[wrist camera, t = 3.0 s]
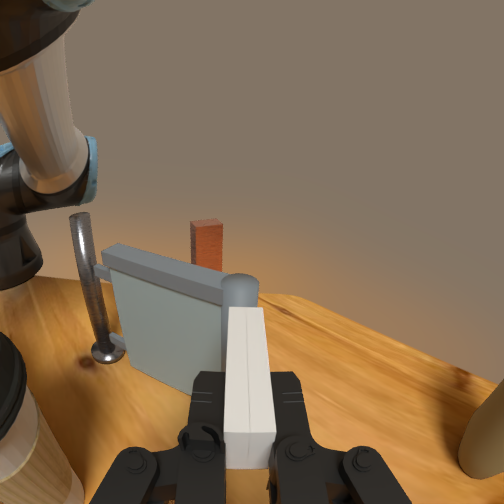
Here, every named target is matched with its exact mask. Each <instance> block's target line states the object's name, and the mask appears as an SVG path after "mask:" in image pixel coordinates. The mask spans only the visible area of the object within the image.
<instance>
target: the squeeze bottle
mask: <svg viewBox="0 0 504 504" xmlns="http://www.w3.org/2000/svg"><path fill="white" fill-rule="evenodd" d="M458 459H459V464H460V466H461V467H462V469H463V471H464V472H465V473H466V474H468V475H469V476H470V477H472V478H475V479H485V478H489V477H492V476H494V475H497V474H500V473H502V472H504V379H503V381H502V382H501V383H500V384H499V385H498V387H497V388H496V389H495V390H494V391H493V392H492V394H491V395H490V396H489V397H488V398H487V399H486V400H485V401H484V402H483V404H482V405H481V406H480V407H479V408H478V409H477V410H476V411H475V412H474V414H473V415H472V417H471V419H470V421H469V422H468V425H467V428H466V430H465V433H464V435H463V438H462V440H461V443H460V445H459V450H458Z"/></svg>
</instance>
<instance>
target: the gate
mask: <svg viewBox="0 0 504 504" xmlns="http://www.w3.org/2000/svg"><path fill="white" fill-rule="evenodd" d="M101 254H102V260H103V265H105V266H108V267H110V268H108V267H105V266H103V265H100V264H96V265H95V266H94V272H95V276H97V277H99V278H101V279H104V280H106V281H109V282H111V283H112V285H113V290H114V296H115V301H116V306H117V310H118V315H119V320H120V324H121V328H122V333H123V337H124V338H123V337H121V336H119V335H117V334H116V333H114V332H112V333H111V334H109V337H110V341H111V342H112V343H113V344H115V345H117V346H119V347H121V348H123V349H124V350H126V351H127V353H128V356H129V360H130V364H131V366H132V367H134V368H136V369H138V370H140V371H141V372H143V373H145V374H147V375H149V376H151V377H153V378H155V379H157V380H159V381H161V382H163V383H165V384H167V385H169V386H171V387H173V388H175V389H177V390H180V391H182V392H184V393H186V394H188V395H190V396H191V395H192V389H193V382H194V379H195V378H196V376H197V375H198V374H199V372H200V371H214V372H226V360H227V339H228V319H229V307H257V303H258V291H259V281H258V280H257V279H256V278H255V277H253V276H251V275H247V274H239V273H238V274H227V273H223V272H220V271H216V270H212V269H208V268H205V267H201V266H197V265H194V264H190V263H186V262H183V261H179V260H176V259H172V258H168V257H165V256H161V255H158V254H154V253H151V252H147V251H143V250H140V249H137V248H133V247H130V246H126V245H122V244H119V243H117V244H115V245H113V246H111V247H109V248H107V249H105V250H103V251H101Z"/></svg>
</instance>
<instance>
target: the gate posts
mask: <svg viewBox="0 0 504 504" xmlns="http://www.w3.org/2000/svg"><path fill="white" fill-rule="evenodd" d="M69 220H70V227H71V233H72V239H73V246H74V250H75V256H76V262H77V267H78V272H79V277H80V281H81V286H82V290H83V294H84V298H85V302H86V306H87V310H88V314H89V317H90V321H91V325H92V328H93V331H94V335H95V338H96V342H95V343H94V344H93V346H92V348H91V353H92V356H93V358H94V359H95V360H96V361H97V362H99V363H101V364H112V363H115V362H117V361H119V360H120V359H121V358H122V357H123V356H124V353H125V350H124V349H123V348H121V347H119V346H117V345H115V344H113V343H112V342H111V341H110V337H109V334H111V333H112V332H111V328H110V324H109V320H108V316H107V312H106V307H105V303H104V298H103V293H102V289H101V284H100V279H99V277H97V276H95V272H94V266H95V265H96V264H97V262H96V256H95V250H94V243H93V236H92V229H91V221H90V213H88V212H80V213H76V214H73V215H71V216H70V217H69ZM190 227H191V228H190V232H191V264H194V265H197V266H201V267H205V268H208V269H212V270H216V271H220V272H222V240H223V224H222V223H221V222H220V221H218V220H217V219H207V220H198V221H191V222H190Z"/></svg>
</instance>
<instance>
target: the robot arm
mask: <svg viewBox="0 0 504 504" xmlns="http://www.w3.org/2000/svg"><path fill="white" fill-rule="evenodd" d="M94 1H95V0H0V124H1V126H2V128H3V130H4V131H5V133H6V135H7V137H8V138H9V140H10V141H11V142H10V143H6V144H3V145H1V146H0V290H2V289H7V288H10V287H13V286H16V285H18V284H21V283H23V282H24V281H26V280H28V279H30V278H31V277H32V276H34V275H35V274H36V273H37V272H38V271H39V270H40V268H41V267H42V265H43V259H42V255H41V251H40V248H39V247H38V245H37V243H36V241H35V239H34V237H33V235H32V234H31V232H30V230H29V228H28V225H27V221H26V215H25V214H26V213H31V212H36V211H42V210H48V209H54V208H60V207H67V206H74V205H75V206H80V205H81V204H84V203H89V202H91V201H93V200H94V198H95V196H96V191H97V168H98V163H97V161H98V160H97V143H96V139H95V138H94V137H88V136H84V135H83V134H82V133H81V132H80V131H79V130H78V129H77V128H76V127H74V124H73V117H72V111H71V104H70V97H69V90H68V81H67V72H66V61H65V49H64V35H65V34H66V33H67V32H68V31H69V30H70V28H71V27H72V26H73V24H74V23H75V22H76V20H77V18H78V16H79V14H80V11H81V8H83V7H86V6H89V5H91V4H92V3H93V2H94ZM178 442H179V445H178V446H176V447H175V448H173V449H169V450H165V451H158V452H150V451H148V450H146V449H145V448H141V447H128V448H126V449H124V450H122V451H121V452H120V453H119V454H118V455H117V457H116V458H115V460H114V462H113V463H112V465H111V467H110V469H109V470H108V472H107V474H106V475H105V477H104V479H103V481H102V482H101V484H100V486H99V487H98V489H97V491H96V493H95V494H94V496H93V498H92V500H91V501H90V503H89V504H168V502H169V500H175V504H226V469H268V466H269V475H270V476H269V480H268V483H267V488H266V490H269V500H270V504H412V502H411V501H410V499H409V498H408V496H407V495H406V493H405V492H404V490H403V489H402V487H401V486H400V484H399V483H398V481H397V480H396V478H395V477H394V475H393V473H392V472H391V470H390V469H389V467H388V466H387V464H386V463H385V461H384V460H383V458H382V457H381V455H380V454H379V453H378V452H377V451H376V450H375V449H373V448H371V447H368V446H358V447H354V448H352V449H350V450H349V451H348V452H343V451H337V450H331V449H327V448H324V447H322V446H320V445H319V444H318V443H316V442H315V441H314V439H313V438H312V436H311V433H310V428H309V423H308V418H307V413H306V408H305V403H304V398H303V394H302V389H301V384H300V380H299V379H298V378H297V376H296V375H295V374H294V373H293V372H270V369H269V360H268V351H267V342H266V333H265V324H264V315H263V308H258V307H229V319H228V339H227V360H226V372H214V371H200V372H199V374H198V375H197V376H196V378H195V379H194V382H193V389H192V395H191V403H190V410H189V417H188V425H187V426H185V427H184V428H183V429H182V430H181V431H180V433H179V435H178Z"/></svg>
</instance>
